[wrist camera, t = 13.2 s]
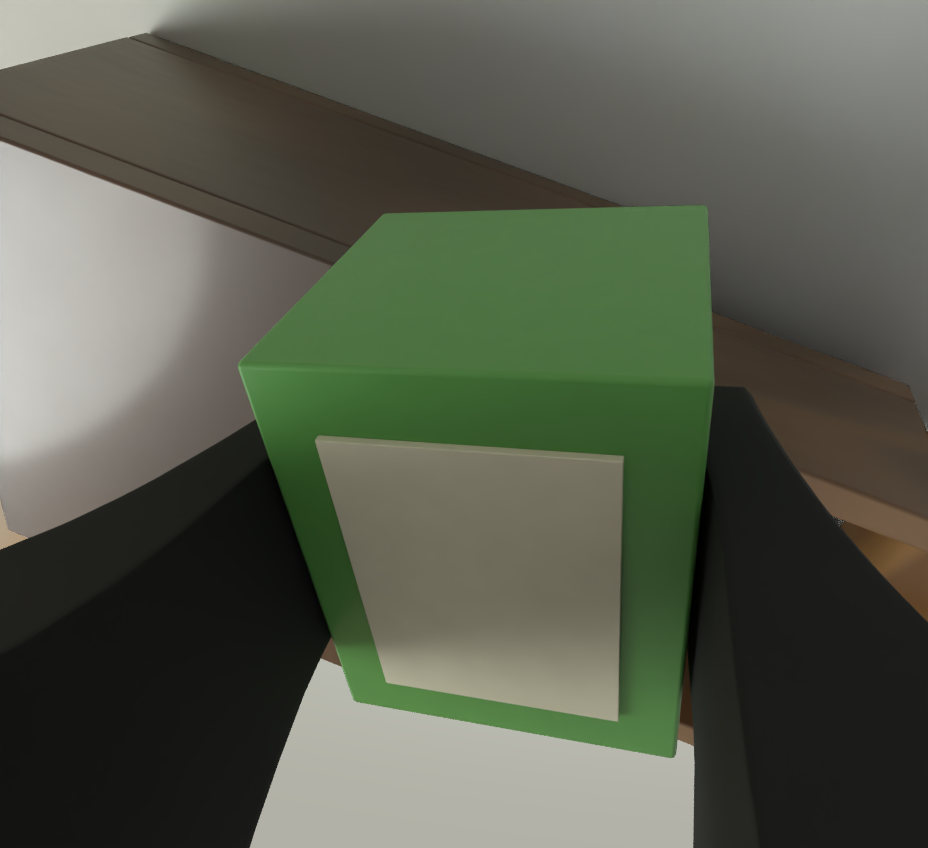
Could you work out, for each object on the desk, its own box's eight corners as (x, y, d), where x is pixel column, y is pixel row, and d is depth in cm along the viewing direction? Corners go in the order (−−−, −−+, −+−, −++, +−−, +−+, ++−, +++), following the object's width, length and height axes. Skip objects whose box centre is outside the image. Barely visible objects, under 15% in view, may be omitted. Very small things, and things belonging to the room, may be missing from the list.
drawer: (1227, 466, 17) (1410, 673, 12) (915, 695, 24) (960, 878, 20) (506, 201, 18) (438, 305, 13) (415, 498, 25) (352, 629, 21)
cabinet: (665, 220, 18) (642, 380, 12) (519, 532, 26) (463, 718, 20) (145, 31, 19) (-111, 96, 13) (160, 390, 27) (7, 530, 21)
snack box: (707, 202, 9) (715, 388, 6) (680, 527, 12) (675, 768, 9) (382, 212, 10) (228, 369, 7) (436, 504, 13) (350, 709, 10)
